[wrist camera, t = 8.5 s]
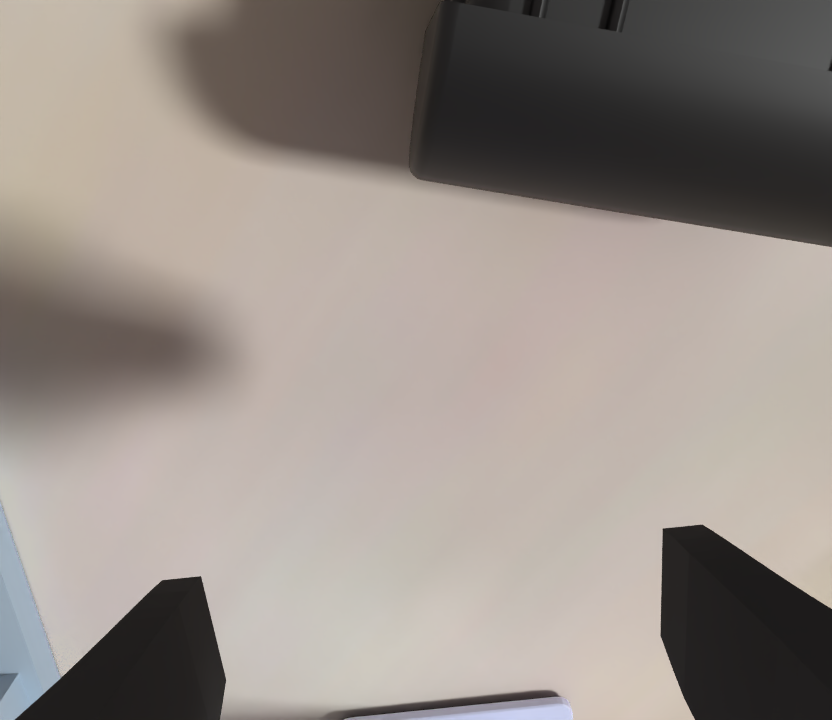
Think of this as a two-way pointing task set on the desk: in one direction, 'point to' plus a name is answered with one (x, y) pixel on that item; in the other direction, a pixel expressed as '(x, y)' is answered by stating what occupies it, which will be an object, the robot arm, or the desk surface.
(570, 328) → the desk surface
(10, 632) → the display stand
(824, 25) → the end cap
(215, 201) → the desk surface
